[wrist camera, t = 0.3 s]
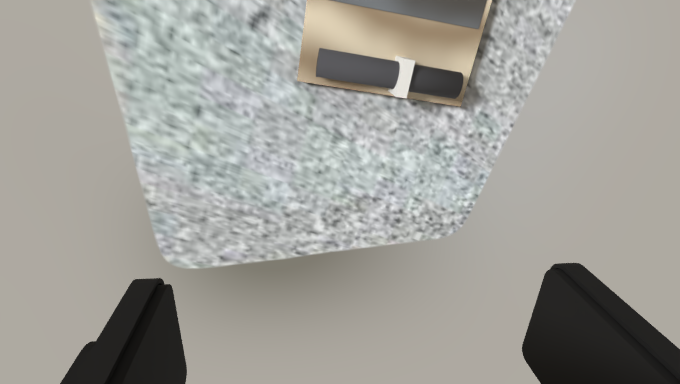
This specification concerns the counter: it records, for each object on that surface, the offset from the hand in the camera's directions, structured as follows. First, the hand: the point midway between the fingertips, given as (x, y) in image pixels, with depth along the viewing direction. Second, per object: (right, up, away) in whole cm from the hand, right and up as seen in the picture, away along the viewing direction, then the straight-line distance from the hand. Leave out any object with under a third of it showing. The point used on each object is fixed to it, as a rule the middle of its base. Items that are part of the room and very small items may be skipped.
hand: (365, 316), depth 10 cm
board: (+4, +19, +25) cm, 32 cm away
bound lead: (+4, +15, +27) cm, 31 cm away
